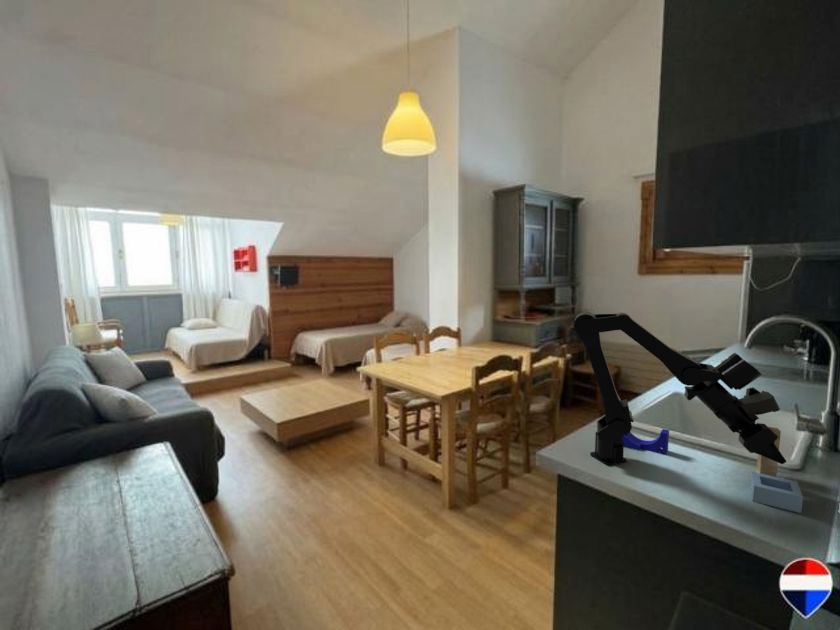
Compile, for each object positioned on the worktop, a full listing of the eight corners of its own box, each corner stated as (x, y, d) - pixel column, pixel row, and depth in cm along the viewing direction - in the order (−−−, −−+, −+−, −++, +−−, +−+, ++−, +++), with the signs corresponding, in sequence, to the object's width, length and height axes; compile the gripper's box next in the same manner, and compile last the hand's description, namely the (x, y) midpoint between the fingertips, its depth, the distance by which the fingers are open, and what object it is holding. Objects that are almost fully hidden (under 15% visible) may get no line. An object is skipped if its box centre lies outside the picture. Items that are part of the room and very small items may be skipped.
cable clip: (615, 445, 113) (616, 424, 113) (620, 439, 117) (620, 419, 116) (664, 457, 106) (666, 435, 105) (667, 451, 109) (669, 430, 108)
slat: (759, 483, 92) (763, 429, 91) (755, 479, 94) (760, 426, 92) (775, 485, 91) (780, 431, 89) (771, 481, 93) (776, 427, 91)
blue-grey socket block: (752, 501, 86) (754, 485, 85) (750, 486, 91) (751, 471, 91) (801, 513, 81) (803, 497, 81) (795, 496, 87) (797, 481, 86)
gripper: (769, 392, 83) (834, 452, 80) (738, 370, 100) (791, 418, 97) (720, 424, 87) (780, 481, 84) (699, 397, 104) (748, 444, 101)
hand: (775, 453), depth 91 cm, fingers open, 8 cm apart
